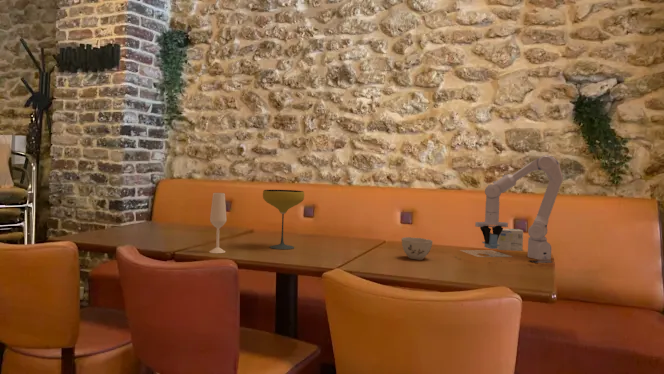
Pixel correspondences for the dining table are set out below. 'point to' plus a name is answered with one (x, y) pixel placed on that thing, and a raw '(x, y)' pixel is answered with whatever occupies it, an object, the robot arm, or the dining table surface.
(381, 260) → the dining table surface
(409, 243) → the teacup
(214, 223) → the champagne flute
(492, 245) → the servo
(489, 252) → the silver flat plate
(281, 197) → the cocktail glass
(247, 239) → the dining table surface
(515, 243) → the light bulb box
